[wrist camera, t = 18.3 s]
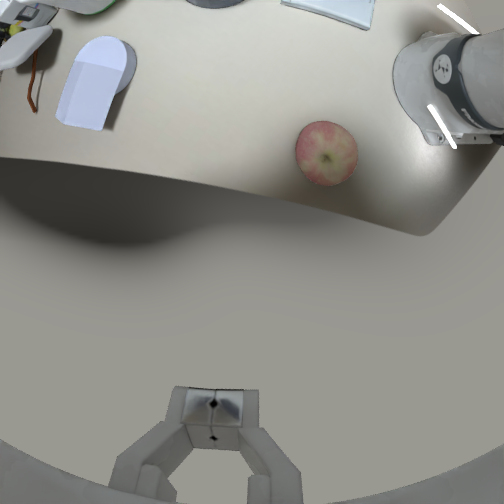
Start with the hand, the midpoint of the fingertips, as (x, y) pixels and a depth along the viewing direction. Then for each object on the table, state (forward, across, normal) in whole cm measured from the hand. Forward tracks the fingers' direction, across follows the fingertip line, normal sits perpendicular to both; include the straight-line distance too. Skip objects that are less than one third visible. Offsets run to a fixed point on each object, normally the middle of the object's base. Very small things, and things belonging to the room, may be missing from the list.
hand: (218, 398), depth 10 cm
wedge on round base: (+33, +20, -18) cm, 43 cm away
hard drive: (+33, -12, -30) cm, 46 cm away
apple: (+33, -10, -6) cm, 35 cm away
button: (+23, +35, -23) cm, 48 cm away
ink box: (+33, +35, -36) cm, 60 cm away
